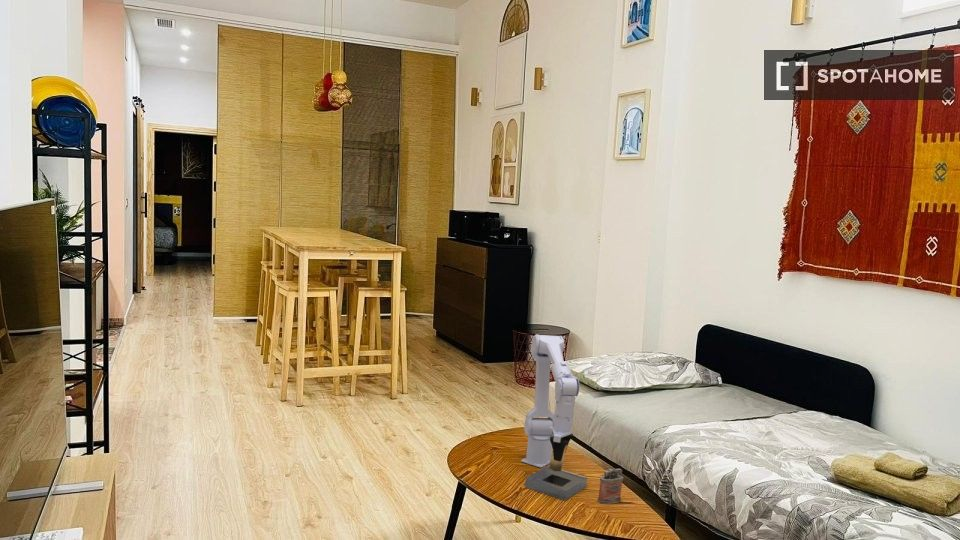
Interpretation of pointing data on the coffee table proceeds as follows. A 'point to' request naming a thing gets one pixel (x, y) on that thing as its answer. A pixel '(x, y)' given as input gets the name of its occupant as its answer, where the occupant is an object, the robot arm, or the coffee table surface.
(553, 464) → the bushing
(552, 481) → the jig
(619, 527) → the coffee table surface
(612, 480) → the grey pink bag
